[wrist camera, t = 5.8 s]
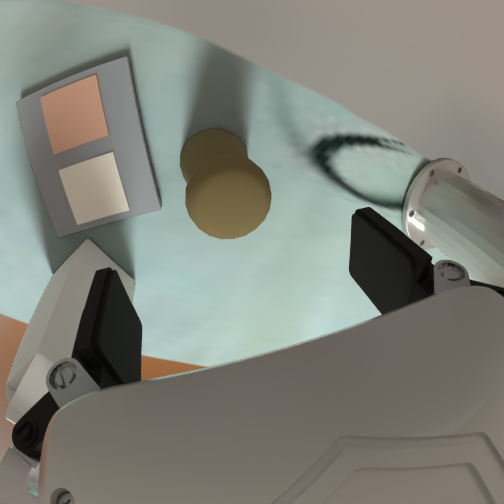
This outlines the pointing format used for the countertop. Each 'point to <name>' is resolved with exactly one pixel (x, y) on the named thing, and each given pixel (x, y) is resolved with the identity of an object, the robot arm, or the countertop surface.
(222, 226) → the cork
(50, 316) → the milk carton
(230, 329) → the countertop surface
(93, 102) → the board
